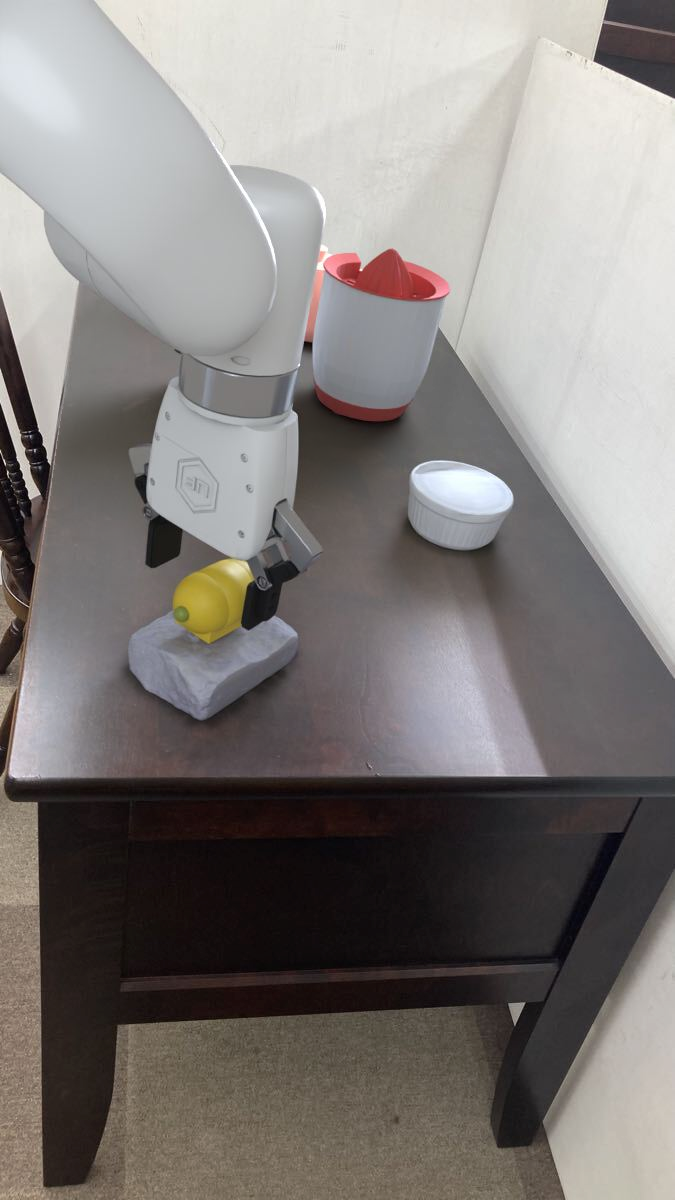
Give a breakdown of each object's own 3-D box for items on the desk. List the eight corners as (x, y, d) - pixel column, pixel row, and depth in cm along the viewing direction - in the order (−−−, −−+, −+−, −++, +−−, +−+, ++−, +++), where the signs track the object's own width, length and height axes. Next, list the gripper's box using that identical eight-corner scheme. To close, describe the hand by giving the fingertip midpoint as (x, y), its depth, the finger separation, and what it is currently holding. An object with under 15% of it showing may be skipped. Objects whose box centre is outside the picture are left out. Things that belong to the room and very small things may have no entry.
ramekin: (443, 490, 102) (455, 450, 99) (520, 539, 97) (535, 497, 94) (378, 516, 95) (388, 473, 92) (456, 569, 90) (470, 526, 87)
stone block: (114, 684, 71) (207, 732, 66) (109, 632, 68) (205, 677, 63) (217, 626, 79) (306, 665, 74) (215, 578, 77) (307, 615, 72)
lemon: (195, 658, 65) (205, 605, 63) (148, 627, 67) (156, 574, 65) (275, 613, 73) (287, 564, 70) (231, 586, 75) (241, 537, 72)
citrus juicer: (404, 379, 126) (439, 234, 114) (428, 437, 113) (470, 279, 101) (295, 366, 123) (319, 215, 111) (306, 424, 110) (335, 259, 98)
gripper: (100, 341, 58) (91, 556, 68) (307, 449, 52) (264, 669, 62) (181, 322, 64) (162, 524, 74) (378, 418, 57) (327, 625, 67)
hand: (208, 590), depth 68 cm, fingers open, 9 cm apart
